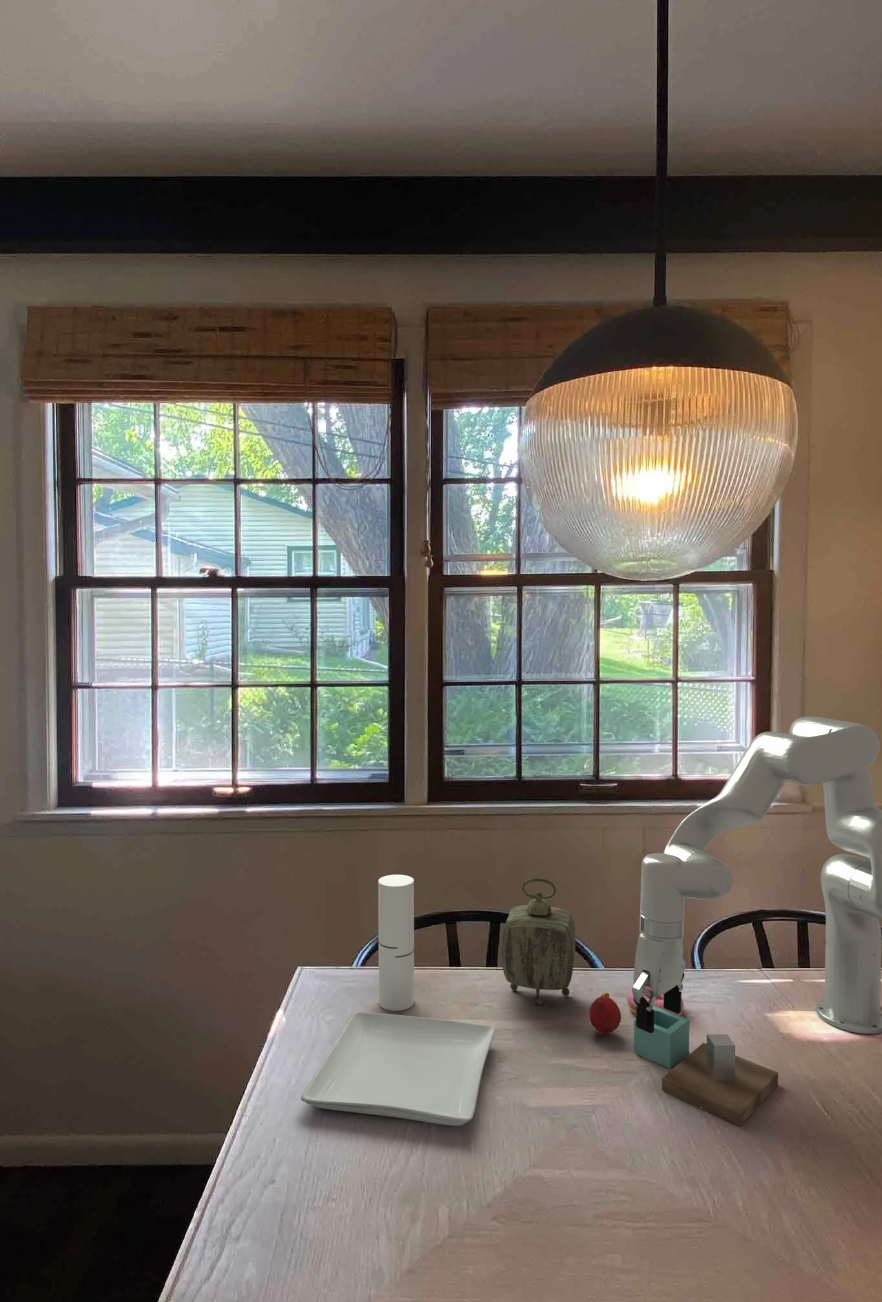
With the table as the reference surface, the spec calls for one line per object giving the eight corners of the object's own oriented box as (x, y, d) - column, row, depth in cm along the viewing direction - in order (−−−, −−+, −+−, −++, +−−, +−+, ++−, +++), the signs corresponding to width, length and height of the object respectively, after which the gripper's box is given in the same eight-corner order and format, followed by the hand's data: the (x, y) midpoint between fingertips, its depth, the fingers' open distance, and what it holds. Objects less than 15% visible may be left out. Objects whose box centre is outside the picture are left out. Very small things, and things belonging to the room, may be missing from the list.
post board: (703, 1053, 135) (703, 1009, 135) (777, 1084, 126) (778, 1037, 126) (661, 1090, 125) (662, 1042, 124) (740, 1126, 116) (740, 1075, 115)
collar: (653, 1037, 141) (653, 1005, 140) (688, 1052, 136) (689, 1019, 135) (633, 1052, 136) (634, 1019, 135) (669, 1068, 131) (670, 1034, 131)
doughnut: (616, 1013, 150) (617, 992, 150) (641, 992, 158) (641, 973, 158) (669, 1032, 143) (669, 1010, 143) (692, 1010, 151) (693, 989, 151)
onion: (607, 1047, 138) (608, 1003, 137) (582, 1034, 142) (582, 992, 142) (626, 1035, 141) (627, 993, 141) (601, 1023, 146) (601, 982, 145)
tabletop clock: (575, 993, 158) (576, 874, 157) (572, 1014, 149) (573, 889, 148) (506, 985, 161) (506, 869, 160) (499, 1006, 152) (500, 883, 151)
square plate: (353, 1028, 145) (353, 1008, 145) (495, 1044, 139) (495, 1023, 139) (298, 1118, 118) (298, 1094, 118) (471, 1143, 113) (471, 1117, 112)
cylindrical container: (383, 992, 158) (382, 873, 157) (416, 994, 157) (416, 875, 156) (375, 1009, 151) (374, 885, 150) (410, 1012, 150) (410, 887, 149)
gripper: (666, 907, 144) (663, 996, 144) (617, 932, 131) (614, 1029, 132) (703, 918, 138) (700, 1011, 139) (656, 945, 126) (653, 1046, 126)
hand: (658, 1020), depth 135 cm, fingers open, 9 cm apart
